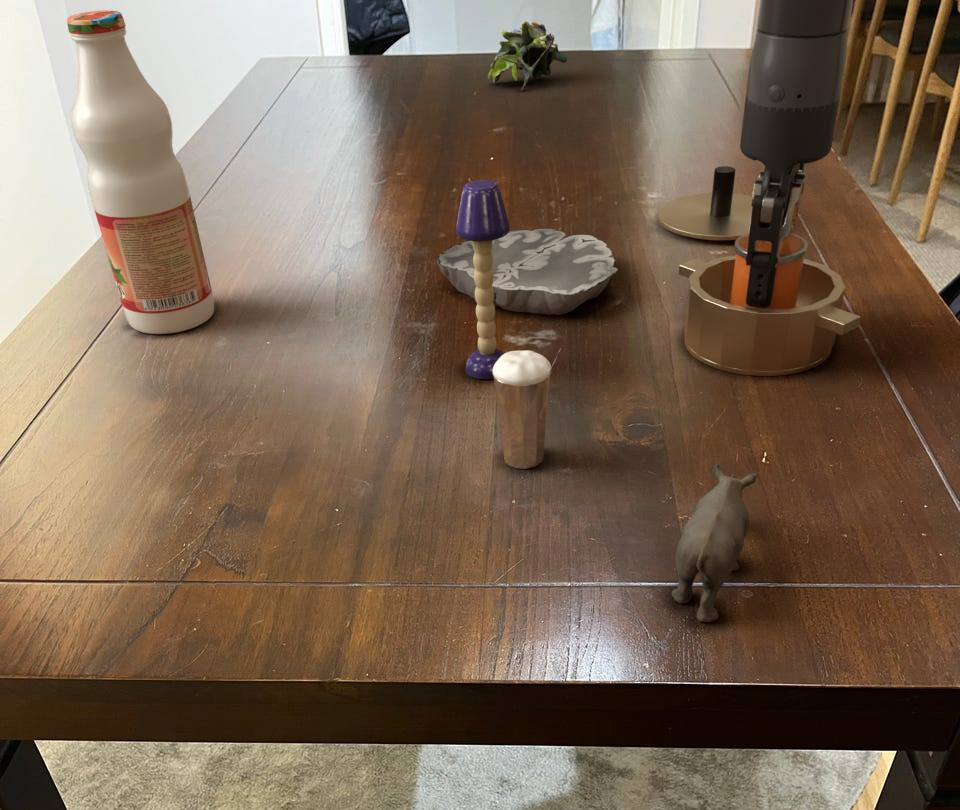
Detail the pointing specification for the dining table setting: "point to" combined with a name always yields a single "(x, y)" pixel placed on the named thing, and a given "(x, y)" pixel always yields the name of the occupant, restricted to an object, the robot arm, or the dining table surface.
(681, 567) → the rhino figurine
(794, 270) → the small canister
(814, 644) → the dining table surface
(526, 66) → the green leafy plant
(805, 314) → the pot
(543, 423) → the milkshake
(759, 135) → the robot arm
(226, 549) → the dining table surface
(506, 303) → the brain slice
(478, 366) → the toy lamp
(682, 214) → the lid
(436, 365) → the dining table surface
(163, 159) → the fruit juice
